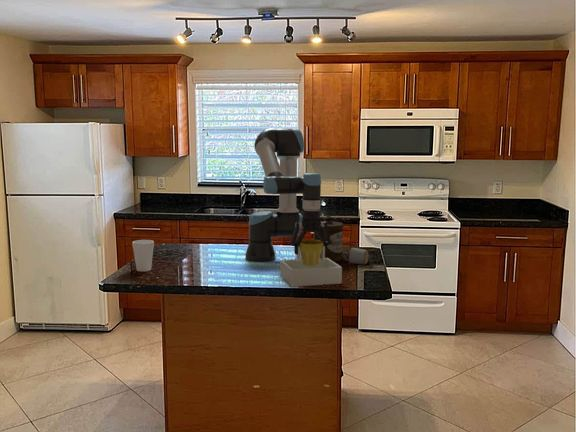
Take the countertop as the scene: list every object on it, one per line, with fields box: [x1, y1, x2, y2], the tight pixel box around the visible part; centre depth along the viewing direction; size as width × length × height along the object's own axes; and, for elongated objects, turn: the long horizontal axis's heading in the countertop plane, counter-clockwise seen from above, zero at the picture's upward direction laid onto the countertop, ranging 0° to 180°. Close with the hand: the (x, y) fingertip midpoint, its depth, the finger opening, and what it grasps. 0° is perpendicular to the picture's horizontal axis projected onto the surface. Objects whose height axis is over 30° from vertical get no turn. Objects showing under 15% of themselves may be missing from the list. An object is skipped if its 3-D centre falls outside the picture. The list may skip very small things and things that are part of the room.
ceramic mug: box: [348, 247, 370, 265], centre depth 265 cm, size 11×8×8 cm
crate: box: [279, 258, 343, 287], centre depth 233 cm, size 18×22×7 cm
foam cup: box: [132, 239, 155, 272], centre depth 246 cm, size 10×9×13 cm
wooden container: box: [312, 215, 344, 263], centre depth 273 cm, size 15×15×22 cm
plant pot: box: [299, 239, 323, 266], centre depth 232 cm, size 10×10×10 cm
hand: (310, 261), depth 232 cm, fingers closed on plant pot, 10 cm apart
